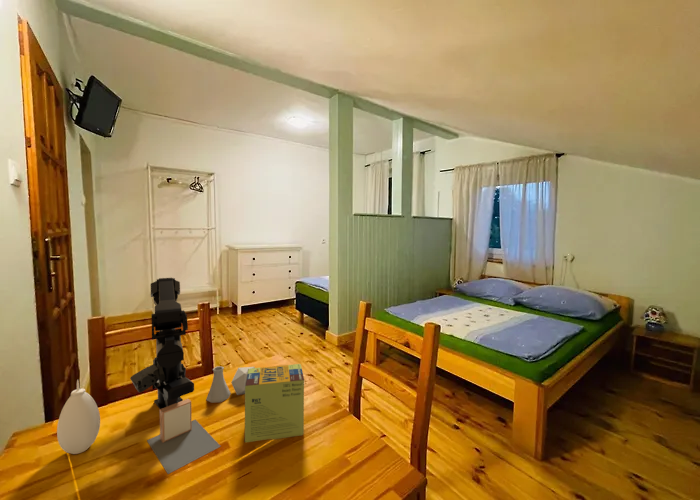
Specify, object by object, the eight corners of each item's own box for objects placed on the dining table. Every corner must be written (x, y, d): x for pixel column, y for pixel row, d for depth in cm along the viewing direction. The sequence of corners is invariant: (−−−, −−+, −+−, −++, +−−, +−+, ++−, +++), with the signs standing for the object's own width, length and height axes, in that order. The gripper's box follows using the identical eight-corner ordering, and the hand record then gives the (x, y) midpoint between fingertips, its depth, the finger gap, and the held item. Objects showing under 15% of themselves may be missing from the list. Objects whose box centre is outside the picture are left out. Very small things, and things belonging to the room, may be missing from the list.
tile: (160, 439, 79) (159, 409, 78) (188, 426, 84) (188, 398, 84) (163, 443, 77) (162, 413, 77) (192, 430, 83) (191, 401, 82)
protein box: (304, 435, 82) (304, 379, 81) (244, 444, 78) (244, 385, 77) (300, 412, 92) (301, 363, 91) (247, 419, 88) (247, 367, 87)
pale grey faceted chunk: (247, 403, 97) (264, 374, 101) (222, 390, 97) (241, 360, 101) (250, 399, 105) (266, 372, 109) (227, 386, 105) (244, 359, 109)
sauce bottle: (67, 444, 77) (64, 375, 76) (105, 437, 80) (103, 370, 79) (51, 466, 70) (48, 390, 69) (94, 457, 73) (91, 384, 72)
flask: (221, 405, 95) (221, 374, 95) (201, 402, 97) (200, 372, 96) (234, 393, 102) (234, 364, 102) (215, 391, 104) (215, 362, 103)
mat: (146, 441, 78) (146, 440, 78) (195, 420, 87) (195, 419, 87) (168, 475, 68) (167, 473, 68) (220, 447, 77) (220, 446, 77)
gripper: (124, 352, 83) (126, 407, 84) (144, 374, 70) (145, 439, 71) (169, 342, 91) (170, 392, 92) (194, 360, 78) (195, 418, 79)
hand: (170, 409), depth 83 cm, fingers closed
